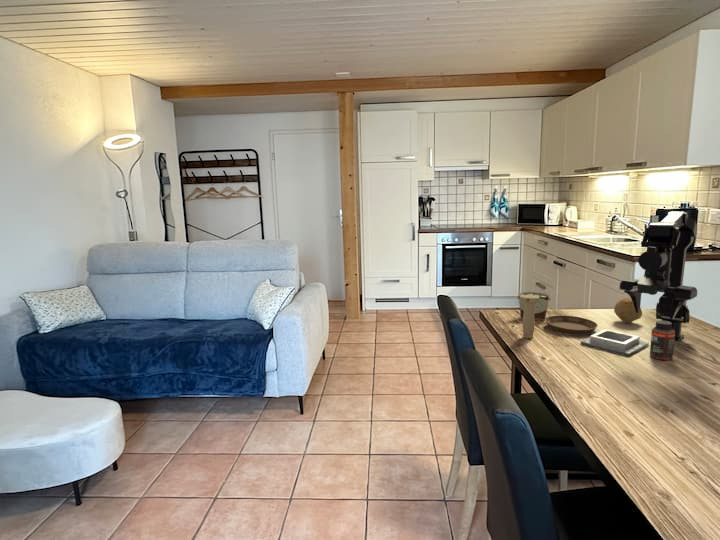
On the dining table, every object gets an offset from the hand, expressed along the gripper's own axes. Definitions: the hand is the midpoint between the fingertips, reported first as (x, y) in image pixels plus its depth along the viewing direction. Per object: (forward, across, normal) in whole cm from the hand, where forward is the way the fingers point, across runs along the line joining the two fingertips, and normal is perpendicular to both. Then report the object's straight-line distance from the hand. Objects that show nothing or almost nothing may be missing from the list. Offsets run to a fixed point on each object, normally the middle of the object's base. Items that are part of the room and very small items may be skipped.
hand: (654, 315), depth 132 cm
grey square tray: (+13, -12, +2) cm, 18 cm away
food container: (+14, -48, +12) cm, 51 cm away
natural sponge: (+14, -20, +31) cm, 40 cm away
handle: (+13, -34, -12) cm, 39 cm away
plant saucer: (+14, -30, +8) cm, 34 cm away
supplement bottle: (+13, +2, +2) cm, 14 cm away
